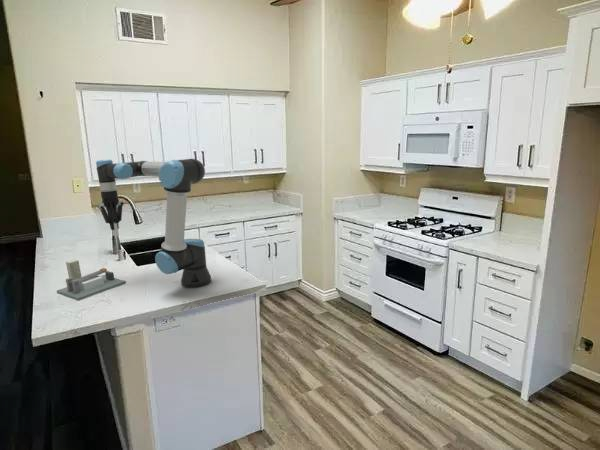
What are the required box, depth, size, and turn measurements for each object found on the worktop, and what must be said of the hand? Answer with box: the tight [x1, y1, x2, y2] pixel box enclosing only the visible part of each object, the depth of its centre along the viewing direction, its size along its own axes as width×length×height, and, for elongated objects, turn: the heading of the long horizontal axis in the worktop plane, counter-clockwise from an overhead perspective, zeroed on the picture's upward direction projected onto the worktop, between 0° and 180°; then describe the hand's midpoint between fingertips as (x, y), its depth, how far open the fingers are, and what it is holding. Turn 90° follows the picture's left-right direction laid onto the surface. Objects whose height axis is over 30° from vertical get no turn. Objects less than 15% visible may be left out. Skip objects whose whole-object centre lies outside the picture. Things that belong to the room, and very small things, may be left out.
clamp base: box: [56, 270, 127, 301], centre depth 199 cm, size 20×25×8 cm
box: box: [65, 259, 83, 280], centre depth 211 cm, size 5×4×11 cm
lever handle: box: [75, 267, 108, 282], centre depth 199 cm, size 3×16×2 cm, turn 147°
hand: (115, 235), depth 203 cm, fingers closed
